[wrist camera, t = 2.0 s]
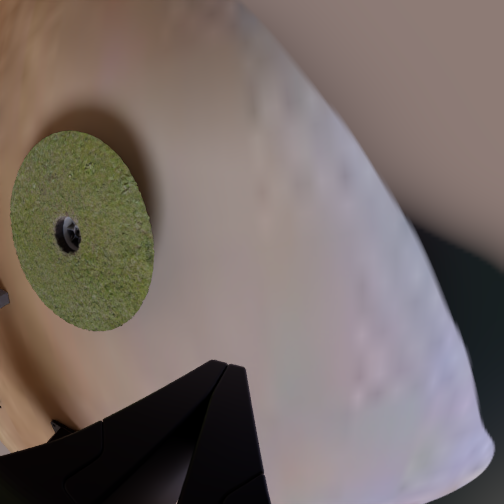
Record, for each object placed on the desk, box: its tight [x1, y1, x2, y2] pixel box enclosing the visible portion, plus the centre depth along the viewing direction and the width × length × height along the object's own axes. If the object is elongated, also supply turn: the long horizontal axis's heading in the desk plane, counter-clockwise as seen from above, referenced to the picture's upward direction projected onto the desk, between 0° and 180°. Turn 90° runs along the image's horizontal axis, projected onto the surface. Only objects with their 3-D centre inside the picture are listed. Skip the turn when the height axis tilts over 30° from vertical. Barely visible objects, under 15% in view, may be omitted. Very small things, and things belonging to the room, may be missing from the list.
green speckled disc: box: [10, 130, 154, 331], centre depth 16 cm, size 11×11×2 cm
